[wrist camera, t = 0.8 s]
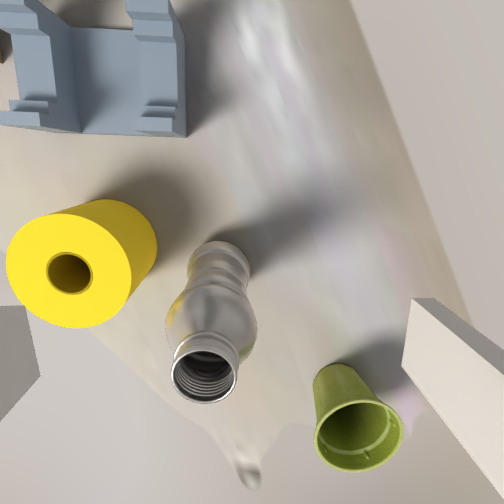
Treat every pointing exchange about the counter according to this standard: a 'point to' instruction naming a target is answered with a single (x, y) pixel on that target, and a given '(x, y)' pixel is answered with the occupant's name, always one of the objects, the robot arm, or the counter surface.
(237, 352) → the metal bottle
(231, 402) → the counter surface
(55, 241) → the yellow hollow cylinder
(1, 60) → the bearing stand
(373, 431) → the plant pot
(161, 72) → the blue notched cradle
